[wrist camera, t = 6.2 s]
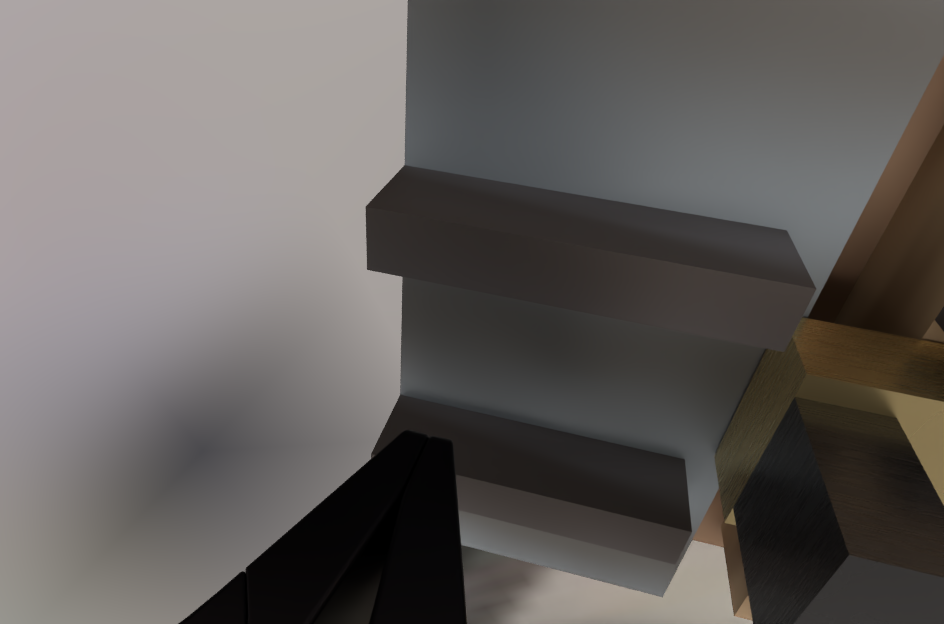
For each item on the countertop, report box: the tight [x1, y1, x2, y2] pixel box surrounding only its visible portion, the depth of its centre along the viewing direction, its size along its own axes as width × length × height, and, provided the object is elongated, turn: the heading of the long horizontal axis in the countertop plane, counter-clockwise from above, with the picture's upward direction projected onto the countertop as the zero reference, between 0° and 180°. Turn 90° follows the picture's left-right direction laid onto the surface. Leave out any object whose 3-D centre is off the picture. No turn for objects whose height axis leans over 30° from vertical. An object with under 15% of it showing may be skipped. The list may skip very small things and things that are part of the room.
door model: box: [366, 0, 944, 621], centre depth 13 cm, size 18×16×6 cm
